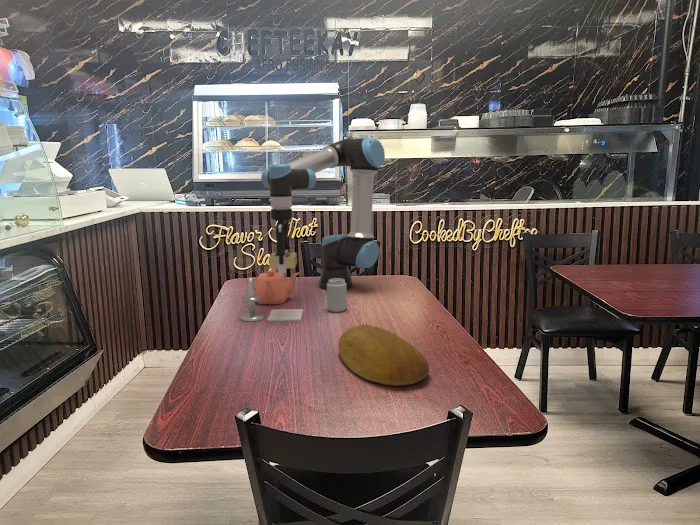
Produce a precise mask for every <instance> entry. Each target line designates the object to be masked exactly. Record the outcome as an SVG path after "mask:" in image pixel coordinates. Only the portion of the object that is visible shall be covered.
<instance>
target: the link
mask: <svg viewBox="0 0 700 525" xmlns="http://www.w3.org/2000/svg"><path fill="white" fill-rule="evenodd" d="M275 253H276V252H272V253H271V254H270V256H268V265H269V266H268V268H269V269H271V270H272V269H276V270H278V255H275ZM297 254H298V253H297V252H295V251H294V252H288V253H285V258H286V269H295V268H296V267H297V263H298V256H297Z"/></svg>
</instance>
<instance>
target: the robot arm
mask: <svg viewBox="0 0 700 525" xmlns="http://www.w3.org/2000/svg"><path fill="white" fill-rule="evenodd" d="M385 154H386V153H385V148H384V146H383V144H382V143H381V142H380V141H379V139H377V138H372V137H363V138H361V137H360V138H357V137H356V138H345V139H341V140H338V141H335V142H333V143H331V144H328V145H325V146H323V147H322V149H321V150H319V151H317V152H314V153H312V154H309V155H307V156H304V157H301V158H299V159H296V160H293V161H291V162H288V163H276V164H274V163H273V164H271V165H270V166H269V168H266V169H264V170H263V171H262V173H261V177H260V178H261V180H260V181H261V183H262V185H263V186H264V187H265V188H268V189H269V195H270V196H269V197H270V198H268V202H270V208H271V209H270V218H271V220H273V221H277V223H276V225H275V230H276V232H275V233H276V234H275V235H276V252H274V253H275V255H278V269H277V272H278V273H284V274H287V268H286V258H285V253H289V250H290V249H291V247H290V246H289V230H288V228H289V224H288V220H292V219H293V209H292V208H293V197H292V194H293V193H292V191H301V190H305V191H307V190H308V189H309V190H310V189H313V188H314V187H315V185H316V184H317V176H316V173H320V172H322V171H324V170H326V169H335V168H338V167H350V168H349V169H350V172H351V173H352V174H353V177H352V178H353V180H352V182H353V183H352V200H351V201H352V202H351V217H350V218H351V220H350V221H351V222H350V231H349V233H348V234H346V233H341V234H333V235H332V234H331V235H326V236H323V237H322V241H321V258H322V260H321V261H322V262H321V263H322V264H321V265H322V270H321V273H320V276H319V280H318V281H319V282H318V287H319V288H320V289H322V290H327V283H328V282H329V281H328V280H329V279H333V278H341V279H344V280H345V281H344V282H345V283H346V286H347V290H348V289H350V288H352V287H354V286H353V284H354V283H353V282H354V281H353V278H352V275H351V273H350V269H349V267H355V268H359V269H369V268H371V267H373V265H374V264H375V263H376V262H377V260H378V258H379V254H380V248H379V246H378V243H377V242H375V236H374V235H373V234H372V221H373V220H372V218H373V217H372V216H373V215H372V214H373V202H374V201H373V200H374V199H373V198H374V186H375V185H374V184H375V175H376V174H377V173H378V172H379V167H382V165H384V162H385V158H386V157H385V156H386V155H385Z"/></svg>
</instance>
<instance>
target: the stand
mask: <svg viewBox="0 0 700 525" xmlns="http://www.w3.org/2000/svg"><path fill="white" fill-rule="evenodd" d="M247 278H248V285H247V288H248V292H247V293H248V294H246V295H243V296H242V297H241V301H242V302H244V303H248V306H249V307H248V308H249V310H248V311H247V312H243V313H241V314H240V315H239V320H241V321H242V322H245V323H248V322H249V323H252V322H253V323H255V322H259V321H263V320H265V318H266V314H265V313H264V312H262V311H256V306H255V305H256V303H257V301H260V300H261V296H260V295H255V292H254V288H255V286H254V280H253V278H250V277H247ZM255 302H256V303H255ZM254 321H255V322H254Z"/></svg>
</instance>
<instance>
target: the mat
mask: <svg viewBox="0 0 700 525" xmlns="http://www.w3.org/2000/svg"><path fill="white" fill-rule="evenodd" d="M303 313H304V308H295V309H294V308H289V309H285V308H284V309H283V308H282V309H276V308H275V309H271V311H270V312H269V316H268V317H267V322H286V321H287V322H294V321H296V322H297V321H302V316H303Z"/></svg>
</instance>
